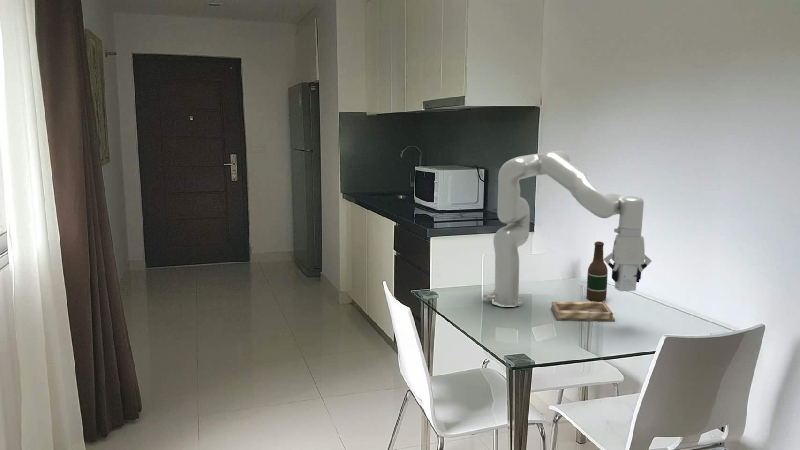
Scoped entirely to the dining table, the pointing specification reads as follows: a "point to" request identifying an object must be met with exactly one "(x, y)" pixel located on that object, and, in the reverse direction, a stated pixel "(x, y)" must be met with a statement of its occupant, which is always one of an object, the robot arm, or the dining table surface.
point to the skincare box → (626, 278)
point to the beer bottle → (597, 276)
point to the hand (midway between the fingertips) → (625, 280)
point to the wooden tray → (582, 311)
